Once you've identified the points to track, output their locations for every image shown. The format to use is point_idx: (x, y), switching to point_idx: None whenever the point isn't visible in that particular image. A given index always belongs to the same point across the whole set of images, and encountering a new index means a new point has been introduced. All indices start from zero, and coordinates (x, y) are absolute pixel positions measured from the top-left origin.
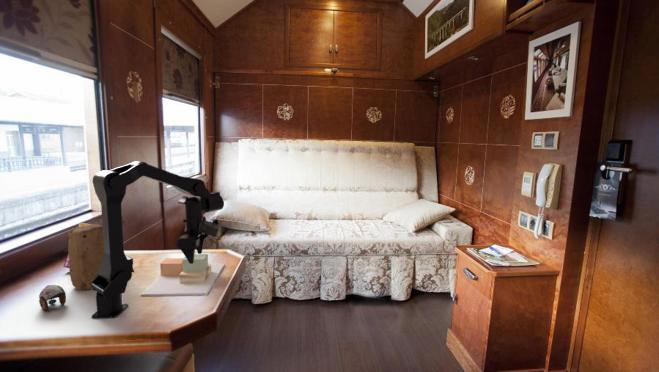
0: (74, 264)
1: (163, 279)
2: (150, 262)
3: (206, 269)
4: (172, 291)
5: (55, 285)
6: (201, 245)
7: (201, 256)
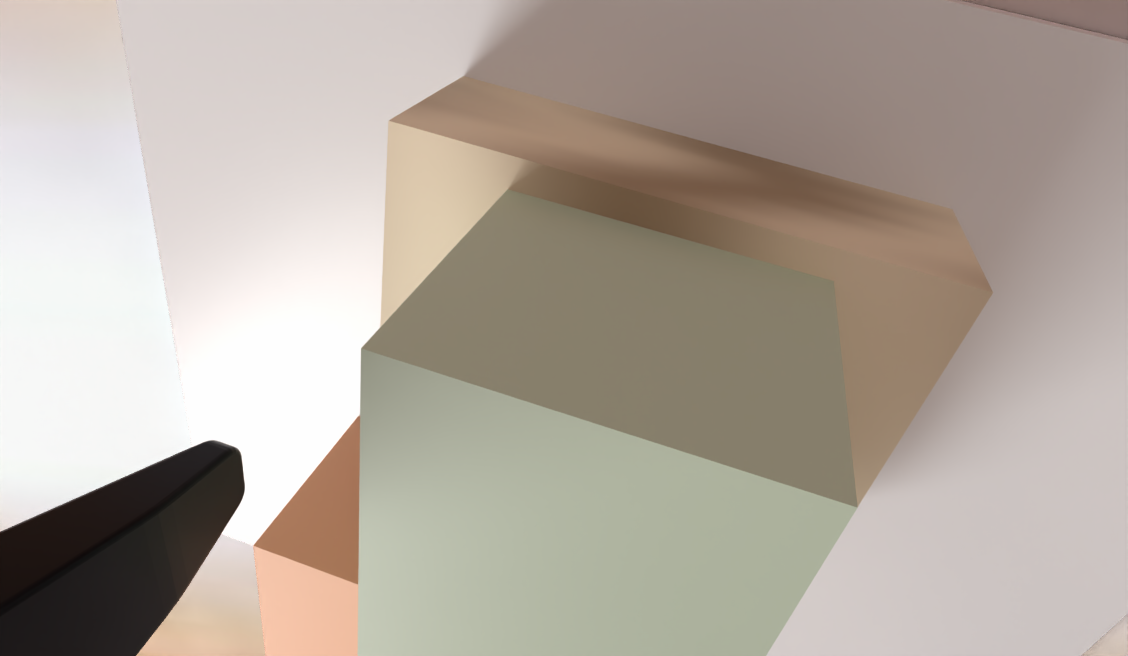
0: None
1: None
2: (163, 627)
3: (703, 227)
4: (1048, 604)
5: None
6: (19, 631)
7: (548, 518)
